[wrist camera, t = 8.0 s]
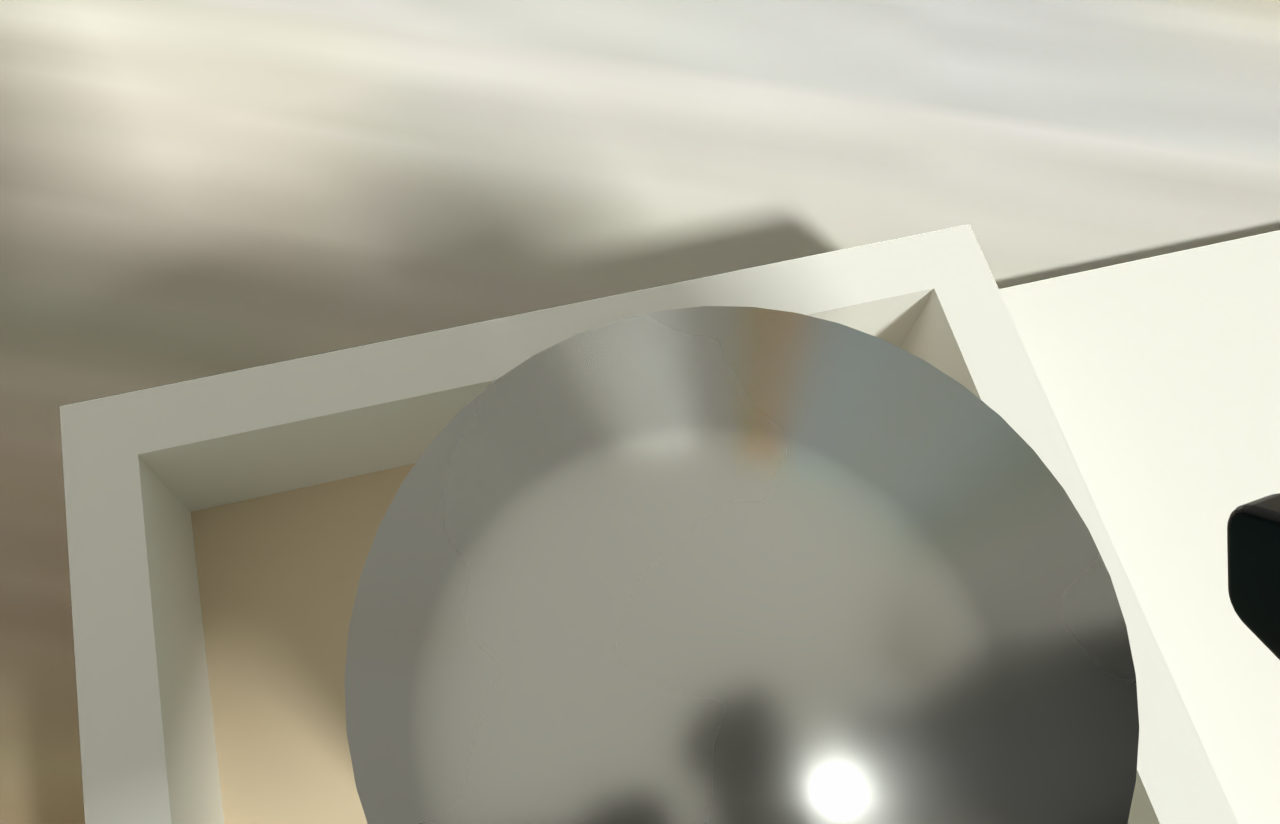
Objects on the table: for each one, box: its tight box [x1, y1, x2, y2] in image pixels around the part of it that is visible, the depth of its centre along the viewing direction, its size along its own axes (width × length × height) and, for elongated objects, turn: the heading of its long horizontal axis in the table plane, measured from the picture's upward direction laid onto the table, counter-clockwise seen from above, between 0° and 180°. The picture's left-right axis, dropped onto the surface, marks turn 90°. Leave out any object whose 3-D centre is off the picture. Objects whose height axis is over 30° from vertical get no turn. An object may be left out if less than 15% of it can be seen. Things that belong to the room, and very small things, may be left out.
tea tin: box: [344, 306, 1139, 824], centre depth 12 cm, size 5×5×10 cm
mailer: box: [59, 224, 1280, 824], centre depth 17 cm, size 14×28×3 cm, turn 105°
